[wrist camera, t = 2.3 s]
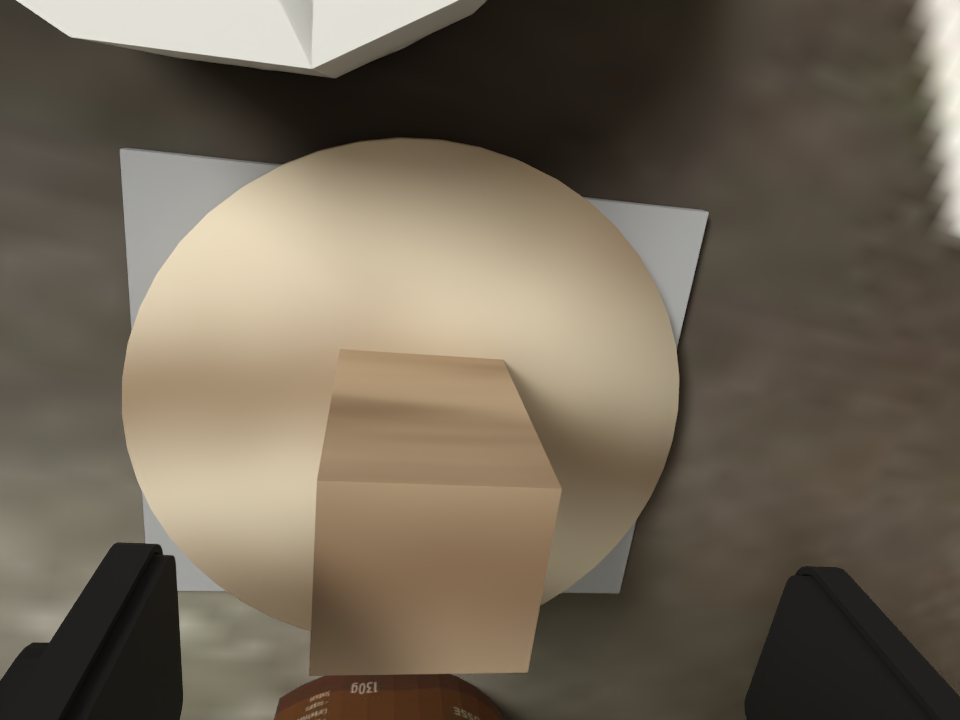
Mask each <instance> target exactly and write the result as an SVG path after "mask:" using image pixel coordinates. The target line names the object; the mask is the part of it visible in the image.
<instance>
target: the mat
mask: <svg viewBox="0 0 960 720" xmlns="http://www.w3.org/2000/svg"><path fill="white" fill-rule="evenodd" d="M120 160H121V175H122V190H123V205H124V221H125V236H126V251H127V266H128V282H129V297H130V312H131V327H132V329H133V326H134V323H135V320H136V317H137V314H138V311H139V308H140V306H141V304H142V302H143V300H144V298H145V296H146V294H147V292H148V290H149V288H150V286H151V284H152V282H153V280H154V278H155V276H156V274H157V273H158V271H159V270H160V269H161V267H162V266H163V265H164V263H165V262H166V260H167V259H168V258H169V256H170V255H171V253H172V252H173V251H174V249H175V248H176V247H177V245H178V244H179V242H180V241H181V240H182V239H183V238H184V237H185V236H186V235H187V234H188V233H189V232H190V231H191V230H192V229H193V228H194V227H195V226H196V225H197V224H198V223H199V222H200V221H201V220H202V219H203V218H204V217H205V216H206V215H207V214H208V213H209V212H210V211H211V210H213V209H214V208H215V207H217V206H218V205H219V204H221V203H222V202H223V201H225V200H226V199H227V198H229V197H230V196H231V195H233V194H234V193H235V192H237V191H238V190H239V189H240V188H242V187H244V186H245V185H247V184H248V183H250V182H252V181H254V180H255V179H257V178H259V177H261V176H263V175H265V174H266V173H268V172H270V171H272V170H274V169H275V168H277V167H279V166H281V165H282V164H272V163H263V162H254V161H244V160H235V159H226V158H217V157H207V156H198V155H189V154H180V153H170V152H161V151H152V150H143V149H133V148H122V149H120ZM583 198H585V199H586V200H588V201H589V202H590V203H591V204H592V205H593V206H594V207H596V208H597V209H598V210H599V211H600V212H601V213H602V214H603V215H604V216H605V217H606V218H607V219H608V220H610V221H611V222H612V223H613V224H614V225H615V226H616V227H617V228H618V230H619V231H620V232H621V233H622V235H623V236H624V237H625V238H626V240H627V241H628V242H629V243H630V245H631V246H632V247H633V248H634V249H635V251H636V252H637V253H638V255H639V256H640V258H641V260H642V261H643V263H644V265H645V266H646V268H647V270H648V272H649V273H650V275H651V277H652V278H653V280H654V282H655V283H656V286H657V288H658V291H659V293H660V296H661V298H662V300H663V303H664V305H665V308H666V310H667V313H668V315H669V319H670V324H671V328H672V332H673V336H674V340H675V344H676V350H677V346H678V341H679V337H680V333H681V329H682V324H683V320H684V316H685V311H686V307H687V303H688V299H689V294H690V290H691V286H692V282H693V277H694V273H695V269H696V265H697V260H698V256H699V252H700V248H701V243H702V239H703V235H704V231H705V226H706V222H707V218H708V214H709V212H706V211H704V210H698V209H689V208H680V207H670V206H661V205H652V204H643V203H633V202H624V201H615V200H606V199H596V198H587V197H583ZM142 495H143V511H144V526H145V541H146V544H159V545H161V548H162V550H163V555H173V556H174V557H175V561H176V574H177V591H226V590H224V589H223V588H221V587H220V586H218V585H217V584H216V583H214V582H213V581H212V580H211V579H210V578H209V577H208V576H206V575H205V574H204V573H203V572H202V571H201V570H200V569H198V568H197V567H196V566H195V565H194V564H193V563H192V562H191V561H190V560H189V559H188V558H187V557H186V556H185V554H184V553H183V552H182V551H181V550H180V549H179V548H178V546H177V545H176V544H175V543H174V542H173V541H172V540H171V539H170V537H169V536H168V534H167V533H166V531H165V530H164V528H163V527H162V525H161V524H160V522H159V521H158V519H157V518H156V516H155V515H154V513H153V512H152V510H151V508H150V506H149V504H148V502H147V500H146V498H145V495H144V493H143V491H142ZM635 524H636V521H635V523H634V524H633V525H632V527H631V528H630V529H629V530H628V532H627V533H626V534H625V535H624V537H623V538H622V539H621V540H620V542H619V543H618V544H617V545H616V547H615V548H614V549H613V550H612V551H611V552H610V553H609V554H608V555H607V556H606V557H605V558H604V559H603V560H602V561H601V562H600V563H599V564H598V565H597V566H596V567H595V568H593V569H592V570H591V571H590V572H588V573H587V574H586V575H585V576H583V577H582V578H581V579H580V580H578V581H577V582H576V583H575V584H573V585H572V586H571V587H569V588H568V589H566V590H565V591H563V592H561V593H619V592H620V588H621V584H622V580H623V575H624V571H625V567H626V563H627V558H628V554H629V550H630V546H631V541H632V537H633V533H634V529H635Z"/></svg>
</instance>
